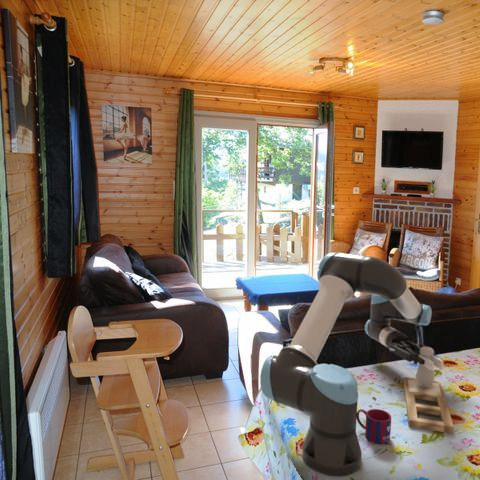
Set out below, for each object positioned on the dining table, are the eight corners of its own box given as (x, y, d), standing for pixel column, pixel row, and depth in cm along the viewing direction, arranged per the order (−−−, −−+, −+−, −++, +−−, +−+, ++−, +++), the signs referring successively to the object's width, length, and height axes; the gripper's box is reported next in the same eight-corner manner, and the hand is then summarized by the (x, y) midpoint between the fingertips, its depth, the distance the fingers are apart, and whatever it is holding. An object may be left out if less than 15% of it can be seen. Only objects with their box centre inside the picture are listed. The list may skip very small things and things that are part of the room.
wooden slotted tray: (408, 426, 131) (408, 418, 131) (403, 382, 159) (404, 376, 159) (453, 433, 127) (453, 426, 127) (440, 387, 156) (440, 380, 155)
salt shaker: (411, 381, 152) (413, 345, 150) (424, 379, 154) (427, 343, 152) (423, 389, 147) (426, 352, 145) (437, 387, 149) (440, 350, 147)
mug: (380, 447, 121) (382, 424, 120) (350, 431, 128) (351, 409, 127) (394, 438, 125) (396, 416, 124) (364, 423, 132) (366, 401, 131)
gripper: (412, 347, 169) (457, 374, 147) (374, 351, 165) (415, 379, 142) (413, 328, 168) (458, 352, 146) (375, 332, 164) (416, 357, 141)
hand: (437, 365), depth 144 cm, fingers closed on salt shaker, 3 cm apart
